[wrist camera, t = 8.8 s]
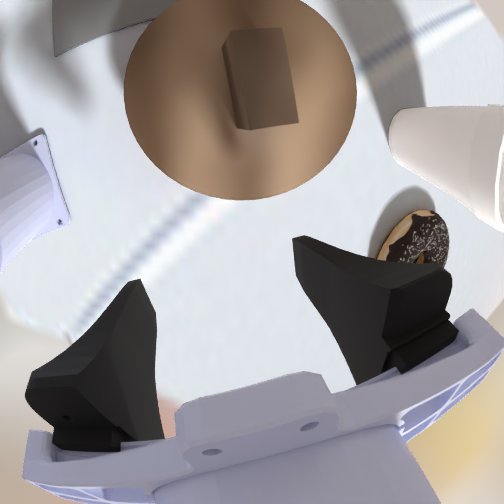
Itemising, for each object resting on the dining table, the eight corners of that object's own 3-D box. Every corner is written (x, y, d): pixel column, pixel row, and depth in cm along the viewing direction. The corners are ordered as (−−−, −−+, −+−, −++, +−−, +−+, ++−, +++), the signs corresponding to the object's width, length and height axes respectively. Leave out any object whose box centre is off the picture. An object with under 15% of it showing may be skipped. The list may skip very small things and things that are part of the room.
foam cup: (395, 75, 19) (512, 82, 8) (445, 124, 22) (540, 153, 11) (362, 157, 22) (480, 206, 11) (417, 195, 26) (510, 247, 15)
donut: (355, 289, 30) (373, 310, 26) (396, 193, 25) (422, 206, 22) (410, 294, 34) (427, 310, 30) (446, 217, 29) (468, 230, 25)
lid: (157, 221, 16) (151, 250, 13) (112, 15, 10) (95, -10, 6) (358, 175, 18) (393, 191, 15) (330, -7, 11) (362, -26, 8)
